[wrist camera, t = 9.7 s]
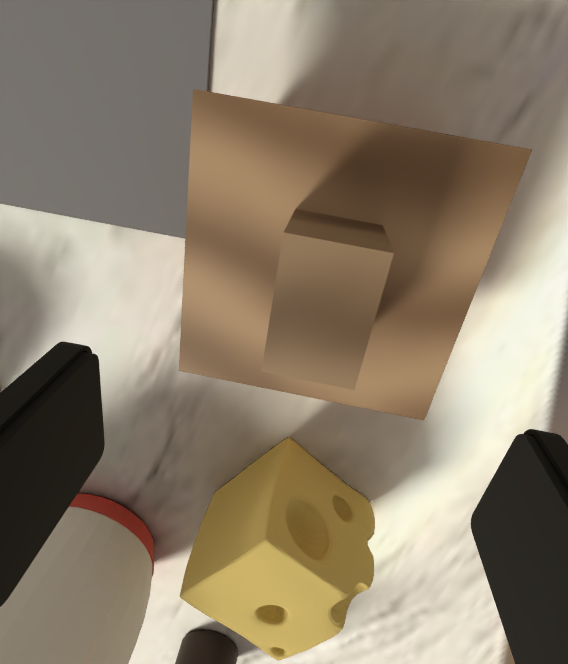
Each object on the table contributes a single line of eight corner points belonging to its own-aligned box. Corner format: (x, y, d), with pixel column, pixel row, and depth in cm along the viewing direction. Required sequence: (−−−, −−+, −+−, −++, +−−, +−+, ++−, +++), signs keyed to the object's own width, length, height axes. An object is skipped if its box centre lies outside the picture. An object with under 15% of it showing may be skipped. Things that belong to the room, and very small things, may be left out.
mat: (-71, -103, 21) (-77, -106, 21) (217, -56, 21) (215, -58, 21) (-19, 198, 28) (-23, 199, 28) (198, 239, 28) (197, 240, 27)
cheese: (374, 500, 36) (384, 622, 28) (289, 550, 41) (274, 670, 32) (287, 428, 34) (268, 536, 25) (206, 489, 38) (166, 601, 30)
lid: (201, 90, 18) (149, 79, 13) (520, 147, 18) (591, 159, 13) (185, 360, 25) (146, 420, 20) (420, 407, 24) (441, 482, 19)
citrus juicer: (144, 606, 48) (29, 891, 30) (5, 530, 45) (-216, 799, 27) (218, 542, 41) (127, 859, 24) (61, 447, 38) (-181, 733, 20)
